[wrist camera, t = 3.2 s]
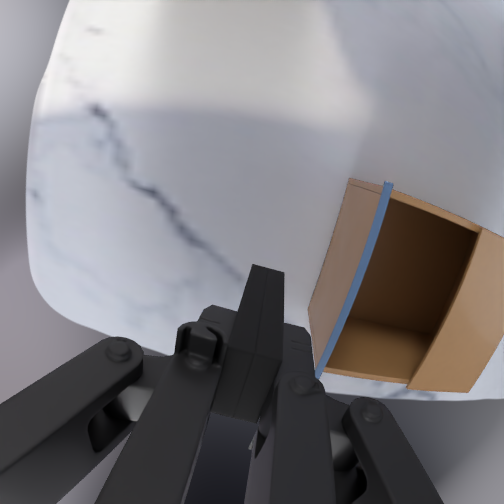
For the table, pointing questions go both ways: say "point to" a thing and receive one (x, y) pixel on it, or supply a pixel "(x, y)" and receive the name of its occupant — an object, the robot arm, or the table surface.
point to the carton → (410, 294)
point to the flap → (357, 277)
